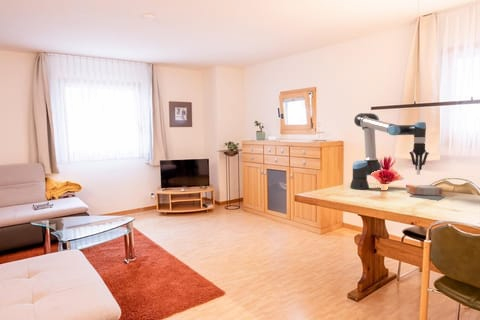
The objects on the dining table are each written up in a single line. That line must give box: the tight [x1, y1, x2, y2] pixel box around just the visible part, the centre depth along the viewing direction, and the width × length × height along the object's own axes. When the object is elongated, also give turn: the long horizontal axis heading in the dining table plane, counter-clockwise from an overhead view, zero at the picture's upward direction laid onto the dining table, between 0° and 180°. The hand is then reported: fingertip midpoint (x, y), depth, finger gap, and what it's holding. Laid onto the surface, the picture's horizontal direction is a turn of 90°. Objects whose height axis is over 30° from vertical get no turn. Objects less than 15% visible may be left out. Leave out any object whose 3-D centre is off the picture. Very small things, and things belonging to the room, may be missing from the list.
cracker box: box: [405, 184, 443, 196], centre depth 245 cm, size 14×6×21 cm
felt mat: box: [408, 194, 445, 201], centre depth 235 cm, size 19×16×1 cm
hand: (418, 174), depth 238 cm, fingers closed
